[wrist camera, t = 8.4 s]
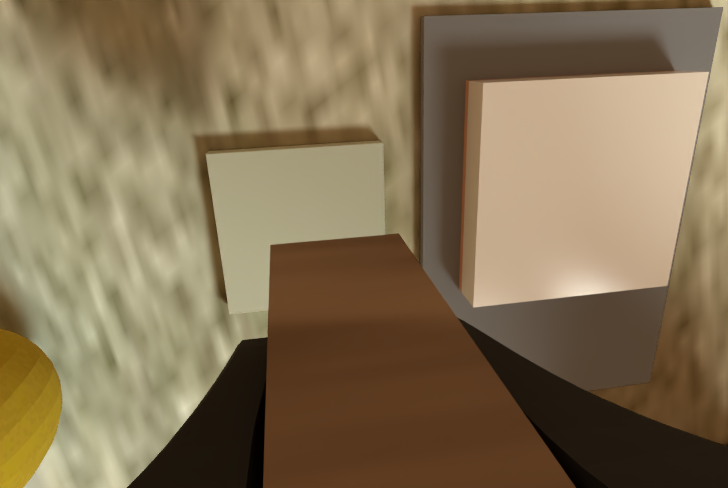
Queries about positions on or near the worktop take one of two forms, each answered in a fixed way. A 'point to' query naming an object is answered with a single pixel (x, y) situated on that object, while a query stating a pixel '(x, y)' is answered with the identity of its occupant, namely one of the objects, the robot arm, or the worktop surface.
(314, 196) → the board
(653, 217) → the tile
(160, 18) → the worktop surface
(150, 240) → the worktop surface
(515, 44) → the mat
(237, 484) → the robot arm
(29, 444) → the lemon
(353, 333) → the block
